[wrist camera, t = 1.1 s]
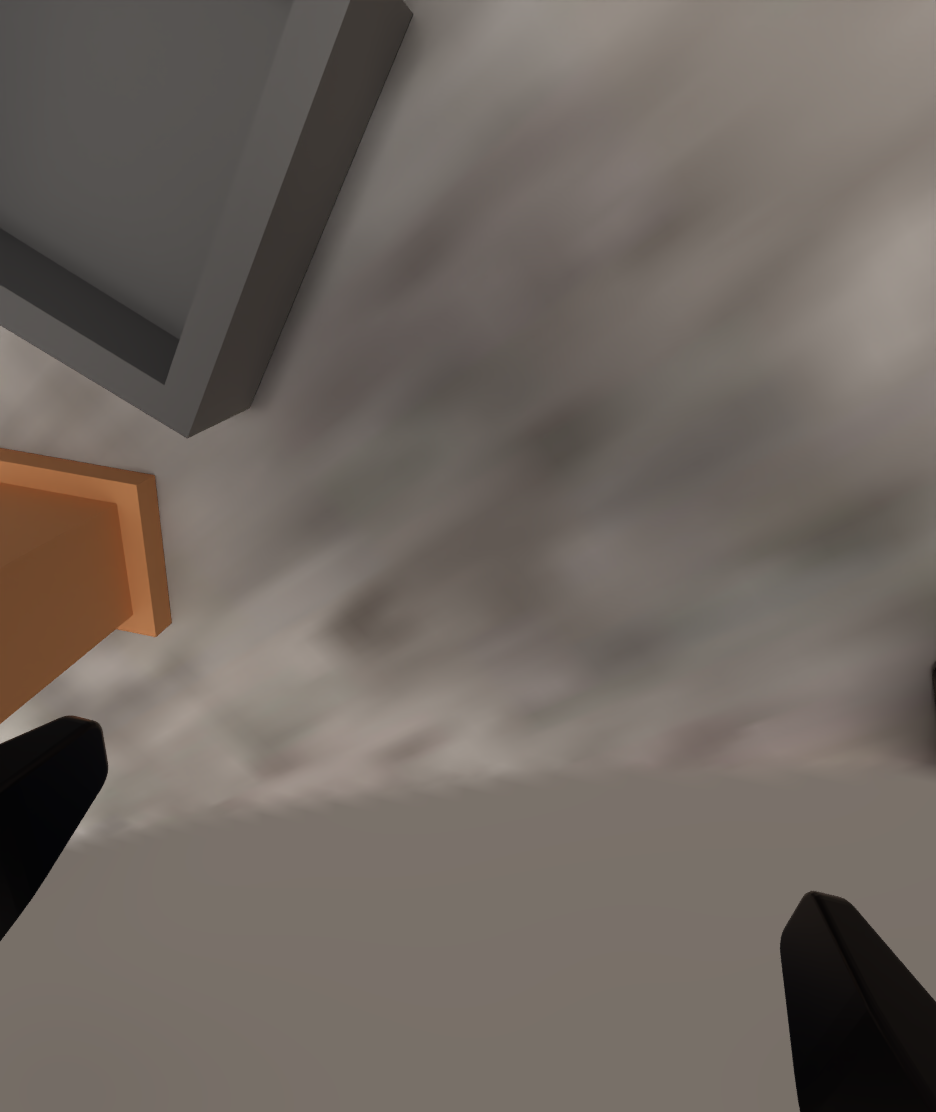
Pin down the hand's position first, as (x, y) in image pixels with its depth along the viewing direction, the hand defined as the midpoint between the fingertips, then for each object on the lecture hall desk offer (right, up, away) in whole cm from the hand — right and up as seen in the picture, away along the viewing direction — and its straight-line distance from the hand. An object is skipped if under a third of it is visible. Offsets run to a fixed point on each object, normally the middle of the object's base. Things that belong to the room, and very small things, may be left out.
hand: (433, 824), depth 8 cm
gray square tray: (-8, +15, +9) cm, 19 cm away
